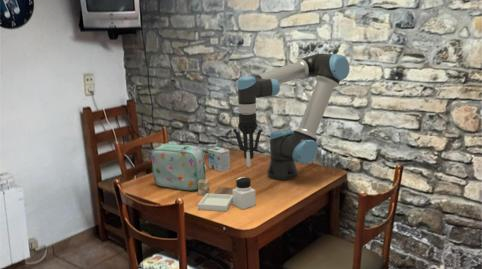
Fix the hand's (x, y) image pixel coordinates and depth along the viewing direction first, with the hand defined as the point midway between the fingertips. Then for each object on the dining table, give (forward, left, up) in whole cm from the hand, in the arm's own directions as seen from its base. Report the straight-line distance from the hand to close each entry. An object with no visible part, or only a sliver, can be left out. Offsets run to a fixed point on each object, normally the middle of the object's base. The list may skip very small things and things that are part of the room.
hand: (249, 165), depth 198 cm
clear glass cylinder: (+22, 0, -14) cm, 26 cm away
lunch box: (+36, -8, -15) cm, 39 cm away
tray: (+12, +12, -14) cm, 22 cm away
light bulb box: (+25, -37, -15) cm, 47 cm away
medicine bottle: (0, +10, -15) cm, 18 cm away
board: (+11, 0, -15) cm, 18 cm away
